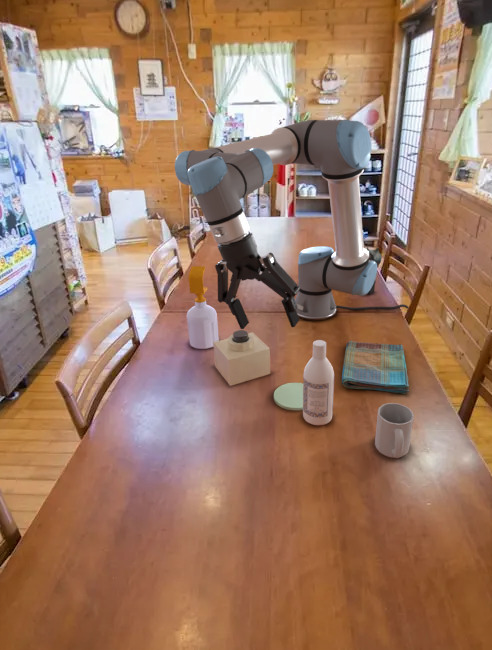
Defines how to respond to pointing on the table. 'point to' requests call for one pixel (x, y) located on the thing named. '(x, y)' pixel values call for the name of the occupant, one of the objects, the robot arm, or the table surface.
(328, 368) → the bath foam
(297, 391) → the mat
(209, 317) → the spray bottle
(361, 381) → the dish towel
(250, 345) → the push button box
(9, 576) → the table surface
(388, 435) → the cup
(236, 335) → the push button
